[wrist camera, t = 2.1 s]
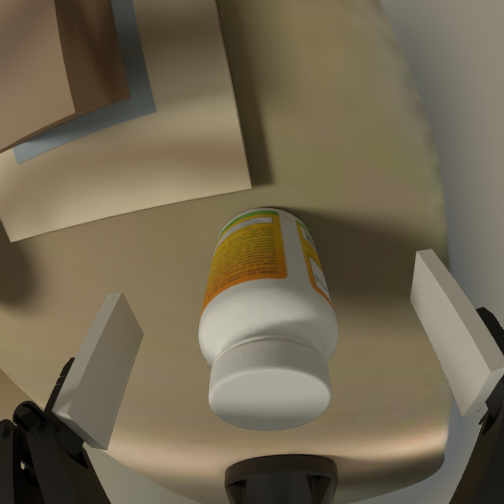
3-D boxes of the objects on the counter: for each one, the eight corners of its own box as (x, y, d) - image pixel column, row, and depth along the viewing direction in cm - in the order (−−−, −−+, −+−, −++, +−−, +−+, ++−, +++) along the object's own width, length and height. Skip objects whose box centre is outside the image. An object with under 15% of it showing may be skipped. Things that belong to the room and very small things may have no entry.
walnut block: (131, 98, 12) (75, 112, 8) (23, 142, 13) (-39, 173, 9) (106, -28, 9) (50, -56, 5) (1, 33, 10) (-63, 38, 5)
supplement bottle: (202, 270, 18) (169, 420, 10) (237, 189, 16) (217, 329, 8) (286, 300, 20) (300, 447, 11) (331, 228, 17) (387, 374, 9)
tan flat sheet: (251, 181, 16) (251, 189, 15) (18, 235, 17) (10, 243, 16) (189, -117, 7) (185, -127, 6) (-35, 4, 8) (-46, 4, 7)
